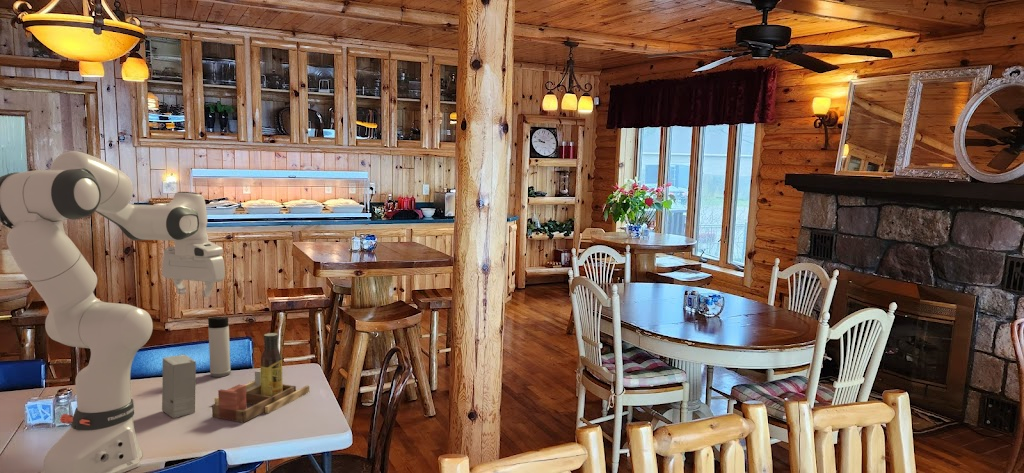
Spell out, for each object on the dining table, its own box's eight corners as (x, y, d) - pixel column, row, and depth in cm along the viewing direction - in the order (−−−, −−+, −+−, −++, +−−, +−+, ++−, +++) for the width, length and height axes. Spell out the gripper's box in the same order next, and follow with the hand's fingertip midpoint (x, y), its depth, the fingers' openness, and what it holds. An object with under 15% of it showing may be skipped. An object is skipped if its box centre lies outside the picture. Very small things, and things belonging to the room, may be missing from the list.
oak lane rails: (267, 413, 191) (267, 407, 191) (214, 404, 197) (214, 398, 197) (309, 392, 209) (309, 385, 208) (259, 384, 215) (259, 378, 215)
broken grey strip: (232, 405, 197) (231, 385, 196) (222, 403, 198) (221, 383, 198) (272, 386, 213) (271, 368, 213) (262, 384, 215) (262, 366, 214)
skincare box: (161, 411, 192) (158, 358, 190) (187, 404, 197) (184, 352, 195) (172, 419, 186) (170, 364, 184) (199, 412, 191) (196, 359, 189)
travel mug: (205, 377, 222) (203, 318, 219) (217, 370, 228) (215, 313, 226) (223, 378, 221) (220, 319, 218) (234, 371, 227) (232, 314, 225)
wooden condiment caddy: (243, 422, 184) (242, 394, 183) (212, 416, 187) (211, 389, 187) (295, 395, 205) (295, 370, 204) (266, 391, 208) (266, 366, 207)
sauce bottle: (276, 402, 199) (274, 338, 197) (257, 401, 200) (254, 336, 198) (287, 395, 206) (285, 332, 204) (268, 393, 207) (266, 331, 205)
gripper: (155, 247, 192) (157, 294, 194) (210, 251, 185) (213, 300, 187) (173, 244, 198) (175, 290, 199) (227, 248, 191) (229, 295, 192)
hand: (194, 295), depth 193 cm, fingers open, 8 cm apart
